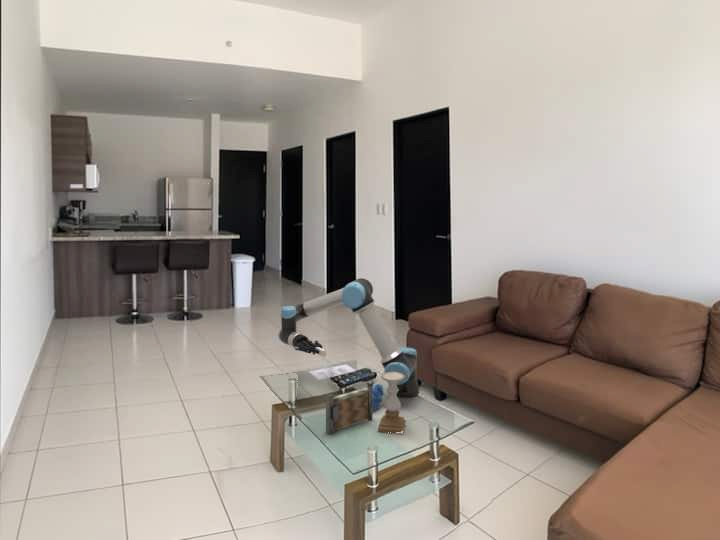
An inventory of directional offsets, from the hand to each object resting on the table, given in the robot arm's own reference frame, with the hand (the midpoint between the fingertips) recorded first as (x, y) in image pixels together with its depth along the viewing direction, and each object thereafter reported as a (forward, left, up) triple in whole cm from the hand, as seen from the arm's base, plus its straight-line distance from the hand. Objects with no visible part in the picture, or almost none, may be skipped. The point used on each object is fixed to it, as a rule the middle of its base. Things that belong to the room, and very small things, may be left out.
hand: (324, 353), depth 243 cm
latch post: (+10, +21, -28) cm, 36 cm away
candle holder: (-14, +33, -28) cm, 45 cm away
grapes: (-20, +12, -28) cm, 37 cm away
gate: (0, +20, -27) cm, 34 cm away
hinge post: (-11, +20, -28) cm, 36 cm away
